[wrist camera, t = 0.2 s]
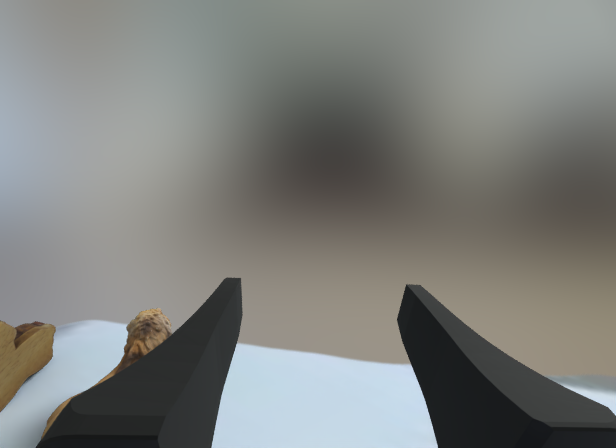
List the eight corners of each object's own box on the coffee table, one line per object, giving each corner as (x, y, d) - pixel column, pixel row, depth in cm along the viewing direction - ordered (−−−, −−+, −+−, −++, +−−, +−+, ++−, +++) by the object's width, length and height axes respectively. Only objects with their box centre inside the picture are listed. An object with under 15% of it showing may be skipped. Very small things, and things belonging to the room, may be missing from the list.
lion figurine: (156, 357, 36) (138, 296, 32) (195, 368, 35) (181, 306, 31) (20, 507, 23) (-37, 437, 20) (72, 534, 22) (23, 465, 18)
